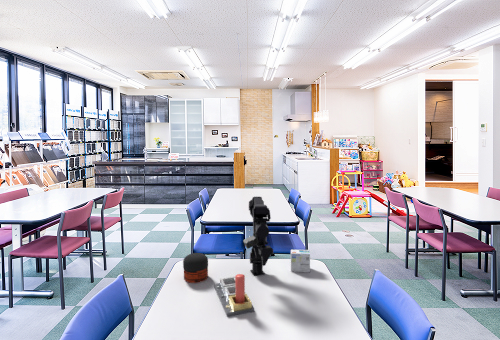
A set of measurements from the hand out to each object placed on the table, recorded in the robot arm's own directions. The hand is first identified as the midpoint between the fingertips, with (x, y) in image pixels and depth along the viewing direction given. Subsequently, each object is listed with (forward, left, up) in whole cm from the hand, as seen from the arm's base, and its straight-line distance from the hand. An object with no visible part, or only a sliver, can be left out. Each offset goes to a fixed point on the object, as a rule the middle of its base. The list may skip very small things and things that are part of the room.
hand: (260, 261), depth 152 cm
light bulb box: (-12, +28, -13) cm, 33 cm away
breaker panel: (+6, -16, -13) cm, 21 cm away
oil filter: (-21, -29, -13) cm, 38 cm away
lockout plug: (+15, -15, -12) cm, 24 cm away
